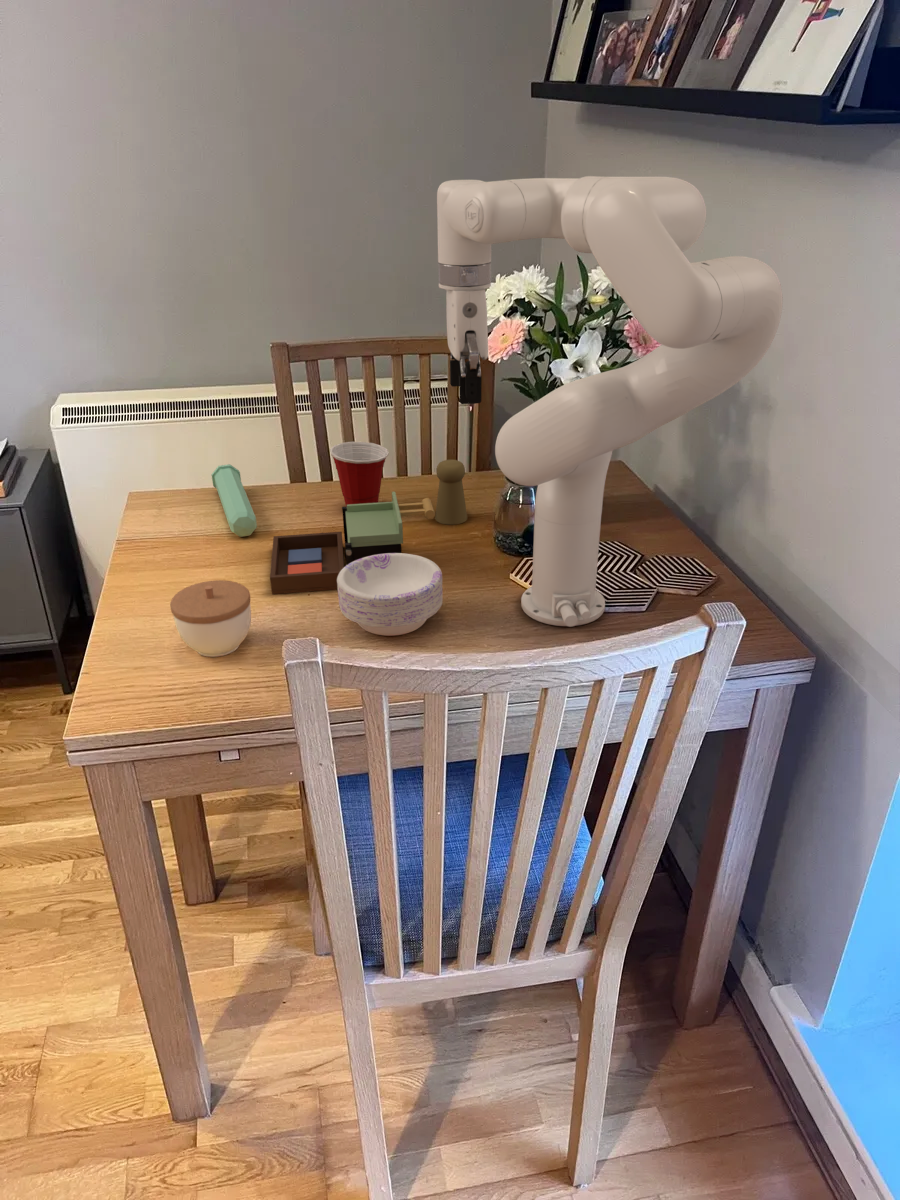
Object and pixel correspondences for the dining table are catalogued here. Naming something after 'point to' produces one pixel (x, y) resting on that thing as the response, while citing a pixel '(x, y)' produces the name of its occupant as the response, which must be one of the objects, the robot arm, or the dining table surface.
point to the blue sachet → (305, 556)
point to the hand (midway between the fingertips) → (465, 394)
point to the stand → (365, 551)
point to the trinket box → (212, 616)
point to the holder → (313, 580)
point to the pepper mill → (450, 493)
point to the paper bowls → (390, 592)
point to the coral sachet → (304, 568)
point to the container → (234, 500)
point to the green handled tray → (382, 521)
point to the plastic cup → (359, 470)
